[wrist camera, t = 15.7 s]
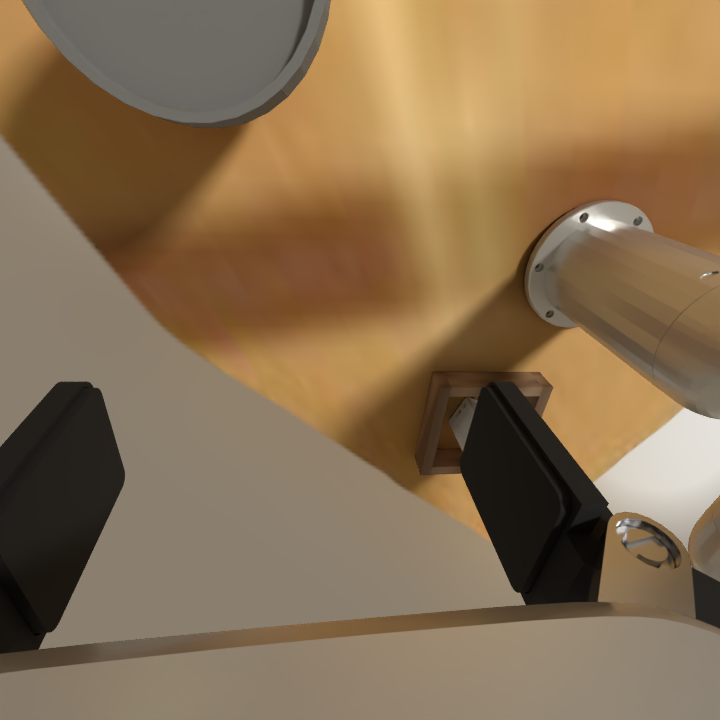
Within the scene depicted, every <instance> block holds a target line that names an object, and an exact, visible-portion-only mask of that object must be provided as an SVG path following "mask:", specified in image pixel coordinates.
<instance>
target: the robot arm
mask: <svg viewBox="0 0 720 720" xmlns="http://www.w3.org/2000/svg"><path fill="white" fill-rule="evenodd" d="M524 283H525V293H526V297H527V300H528V302H529V304H530V306H531V308H532V309H533V310H534V311H535V312H536V314H537V315H538V316H540V317H541V318H542V319H543V320H545V321H546V322H548V323H550V324H552V325H555V326H560V327H569V328H574V327H580V328H581V329H583V330H584V331H585V332H586V333H588V334H589V335H590V336H592V337H593V338H594V339H595V340H597V341H598V342H599V343H600V344H602V345H603V346H604V347H606V348H607V349H608V350H609V351H611V352H612V353H613V354H615V355H616V356H617V357H618V358H620V359H621V360H622V361H624V362H625V363H626V364H627V365H629V366H630V367H631V368H633V369H634V370H635V371H636V372H638V373H639V374H640V375H641V376H643V377H644V378H645V379H647V380H648V381H649V382H651V383H652V384H653V385H654V386H656V387H657V388H658V389H660V390H661V391H662V392H664V393H665V394H666V395H668V396H669V397H670V398H671V399H673V400H674V401H675V402H677V403H678V404H680V405H682V406H683V407H685V408H687V409H689V410H691V411H693V412H695V413H697V414H700V415H703V416H706V417H710V418H715V419H720V256H718V255H715V254H712V253H709V252H706V251H703V250H701V249H698V248H695V247H692V246H689V245H686V244H683V243H681V242H678V241H675V240H672V239H669V238H666V237H663V236H661V235H658V234H655V233H654V231H653V228H652V224H651V223H650V221H649V219H648V218H647V216H646V215H645V214H644V213H643V212H642V211H641V210H640V209H638V208H636V207H634V206H632V205H630V204H628V203H624V202H621V201H616V200H600V201H593V202H590V203H587V204H584V205H581V206H579V207H577V208H575V209H573V210H571V211H570V212H568V213H566V214H565V215H564V216H562V217H561V218H560V219H558V220H557V221H556V222H555V223H554V224H553V225H552V226H551V227H550V228H549V229H548V230H547V231H546V232H545V233H544V234H543V236H542V237H541V238H540V240H539V241H538V243H537V244H536V246H535V248H534V250H533V252H532V253H531V255H530V258H529V261H528V264H527V267H526V272H525V278H524ZM460 470H461V473H462V476H463V478H464V480H465V483H466V485H467V487H468V489H469V492H470V494H471V496H472V498H473V501H474V503H475V505H476V507H477V510H478V512H479V514H480V516H481V519H482V521H483V523H484V525H485V528H486V530H487V532H488V534H489V537H490V539H491V541H492V543H493V546H494V548H495V550H496V552H497V555H498V557H499V559H500V561H501V563H502V566H503V568H504V570H505V572H506V575H507V577H508V579H509V581H510V584H511V586H512V587H513V589H514V590H515V591H516V592H518V593H519V592H520V593H521V595H522V597H523V600H524V602H525V604H526V605H521V606H506V607H493V608H481V609H470V610H459V611H446V612H434V613H422V614H411V615H399V616H387V617H376V618H364V619H353V620H343V621H330V622H320V623H308V624H297V625H286V626H276V627H264V628H253V629H243V630H232V631H220V632H210V633H200V634H189V635H179V636H168V637H158V638H146V639H136V640H126V641H115V642H105V643H94V644H84V645H75V646H67V647H57V648H48V649H40V650H38V649H39V647H40V645H41V643H42V641H43V639H44V637H45V635H46V633H47V632H52V631H53V630H54V629H55V628H56V627H57V625H58V623H59V622H60V619H61V617H62V615H63V613H64V610H65V609H66V607H67V605H68V602H69V600H70V598H71V596H72V594H73V592H74V589H75V587H76V585H77V583H78V581H79V579H80V577H81V575H82V572H83V570H84V568H85V566H86V564H87V562H88V560H89V558H90V555H91V553H92V551H93V549H94V547H95V545H96V543H97V540H98V538H99V536H100V534H101V532H102V530H103V528H104V525H105V523H106V521H107V519H108V517H109V515H110V513H111V510H112V508H113V506H114V504H115V502H116V500H117V498H118V496H119V493H120V491H121V489H122V487H123V484H124V480H125V471H124V467H123V464H122V461H121V457H120V454H119V450H118V447H117V444H116V440H115V437H114V433H113V430H112V426H111V423H110V420H109V416H108V413H107V409H106V406H105V403H104V399H103V396H102V393H101V391H100V390H99V389H98V388H93V386H92V385H91V383H89V382H59V383H57V384H56V385H55V386H54V387H53V388H52V389H51V390H50V392H49V393H48V394H47V395H46V396H45V397H44V398H43V400H41V402H40V403H39V404H38V405H37V406H36V408H35V409H34V410H33V411H32V412H31V413H30V414H29V415H28V416H27V417H26V419H25V420H24V421H23V422H22V423H21V424H20V425H19V426H18V428H17V429H16V430H15V431H14V432H13V433H12V434H11V435H10V437H9V438H8V439H7V440H6V441H5V442H4V444H2V446H1V447H0V720H720V496H719V497H718V498H717V499H716V500H715V501H714V503H713V504H712V505H711V506H710V507H709V508H708V509H707V510H706V511H705V512H704V514H703V515H702V516H701V518H700V519H699V520H698V521H697V523H696V524H695V526H694V528H693V529H692V532H691V535H690V537H689V543H688V551H687V550H686V548H685V547H684V545H683V544H682V542H681V541H680V540H679V539H678V538H677V537H676V536H675V535H674V534H673V533H672V532H671V531H669V530H668V529H667V528H665V527H664V526H662V525H661V524H659V523H658V522H656V521H654V520H652V519H650V518H648V517H645V516H643V515H640V514H637V513H630V512H622V513H617V514H615V515H613V514H612V513H611V512H610V510H609V509H608V508H607V506H608V504H609V503H608V502H607V501H606V499H605V498H604V497H603V496H602V494H601V493H600V492H599V490H598V489H597V488H596V487H595V485H594V484H593V483H592V481H591V480H590V479H589V478H588V476H587V475H586V474H585V473H584V471H583V470H582V469H581V467H580V466H579V465H578V464H577V462H576V461H575V460H574V459H573V457H572V456H571V455H570V453H569V452H568V451H567V450H566V448H565V447H564V446H563V445H562V443H561V442H560V441H559V439H558V438H557V437H556V436H555V434H554V433H553V432H552V431H551V429H550V428H549V427H548V425H547V424H546V423H545V422H544V420H543V419H542V418H541V416H540V415H539V414H538V413H537V411H536V410H535V409H534V408H533V406H532V405H531V404H530V402H529V401H528V400H527V399H526V397H525V396H524V395H523V394H522V392H521V391H520V390H519V388H518V387H517V386H516V385H515V384H514V383H513V382H511V381H491V382H489V383H488V384H487V387H483V388H482V389H481V391H480V394H479V397H478V401H477V404H476V408H475V411H474V415H473V418H472V422H471V425H470V428H469V432H468V435H467V439H466V442H465V446H464V449H463V453H462V456H461V460H460Z"/></svg>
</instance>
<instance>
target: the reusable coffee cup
mask: <svg viewBox="0 0 720 720" xmlns="http://www.w3.org/2000/svg"><path fill="white" fill-rule="evenodd" d="M330 1H331V0H22V2H23V3H24V5H25V6H26V8H27V9H28V11H29V13H30V14H31V16H32V17H33V19H34V20H35V22H36V23H37V25H38V26H39V27H40V29H41V30H42V31H43V32H44V33H45V34H46V36H47V37H48V38H49V39H50V40H51V42H52V43H53V44H54V45H55V46H56V47H57V49H58V50H59V51H60V52H61V53H62V54H63V56H64V57H65V58H66V59H67V60H68V61H70V62H71V63H72V64H73V65H74V66H75V67H76V68H77V69H79V70H80V71H81V72H82V73H83V74H84V75H85V76H86V77H88V78H89V79H90V80H91V81H92V82H93V83H94V84H96V85H97V86H99V87H100V88H102V89H103V90H105V91H107V92H108V93H110V94H111V95H113V96H114V97H116V98H117V99H119V100H120V101H122V102H123V103H125V104H128V105H130V106H132V107H135V108H137V109H139V110H141V111H144V112H146V113H148V114H151V115H153V116H156V117H158V118H161V119H164V120H167V121H170V122H174V123H178V124H183V125H187V126H192V127H196V128H225V127H230V126H234V125H239V124H244V123H247V122H249V121H251V120H254V119H256V118H258V117H260V116H262V115H264V114H266V113H268V112H270V111H271V110H272V109H273V108H275V107H276V106H277V105H278V104H280V103H281V102H282V101H283V100H285V99H286V98H287V97H288V96H289V95H290V94H291V93H292V91H293V90H294V89H295V88H296V86H297V85H298V84H299V83H300V81H301V80H302V79H303V78H304V76H305V75H306V73H307V71H308V69H309V67H310V65H311V63H312V61H313V60H314V58H315V56H316V54H317V52H318V50H319V47H320V44H321V40H322V37H323V34H324V31H325V27H326V24H327V21H328V16H329V8H330Z"/></svg>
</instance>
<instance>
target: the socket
mask: <svg viewBox="0 0 720 720" xmlns="http://www.w3.org/2000/svg"><path fill="white" fill-rule="evenodd" d="M491 381H511V382H513V383H514V384H515V385H516V386H517V387H518V388H519V390H520V391H521V392H522V394H523V395H524V396H525V397H526V399H527V400H528V401H529V402H530V404H531V405H532V406H533V408H534V409H535V410H536V411H537V413H538V414H539V415H540V416H541V417H542V414H543V412H544V409H545V407H546V404H547V402H548V399H549V397H550V394H551V392H552V389H553V386H552V385H551V384H550V383H549V382H548V381H547V380H546V379H545V378H544V377H543V376H542V374H541V373H540V372H433V373H432V378H431V382H430V387H429V392H428V397H427V401H426V406H425V411H424V416H423V421H422V425H421V430H420V435H419V440H418V444H417V449H416V454H415V459H416V462H417V465H418V468H419V471H420V474H421V475H432V474H459V473H461V470H460V460H461V456H462V453H463V452H462V450H461V449H437V446H438V441H439V437H440V433H441V429H442V425H443V421H444V417H445V413H446V409H447V404H448V400H449V397H479V394H480V391H481V389H482V388H483V387H487V384H488V383H489V382H491Z"/></svg>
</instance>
